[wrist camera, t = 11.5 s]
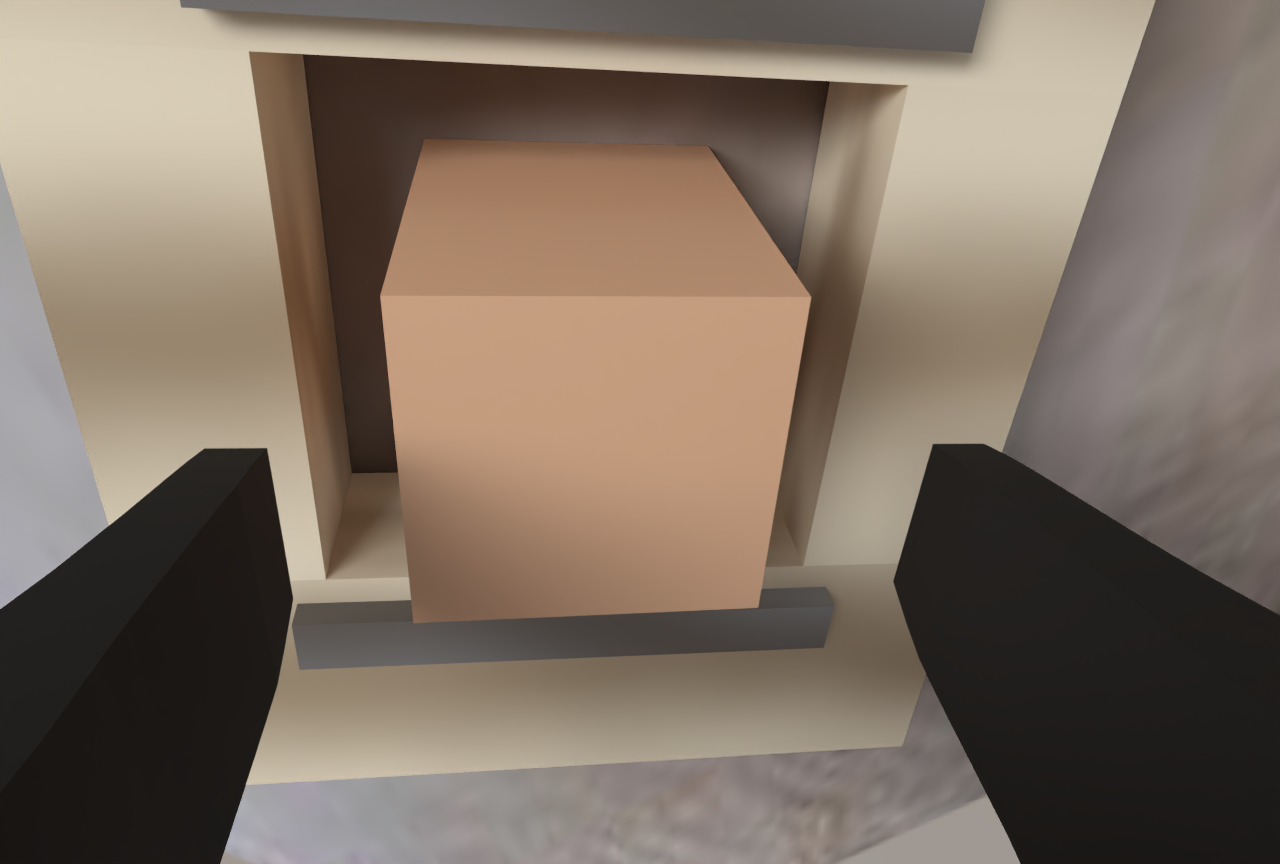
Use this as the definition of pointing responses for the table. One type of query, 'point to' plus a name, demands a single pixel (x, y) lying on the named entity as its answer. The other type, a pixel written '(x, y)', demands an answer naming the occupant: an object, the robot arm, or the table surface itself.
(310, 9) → the slotted wooden holder
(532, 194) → the block
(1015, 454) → the table surface
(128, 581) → the robot arm
